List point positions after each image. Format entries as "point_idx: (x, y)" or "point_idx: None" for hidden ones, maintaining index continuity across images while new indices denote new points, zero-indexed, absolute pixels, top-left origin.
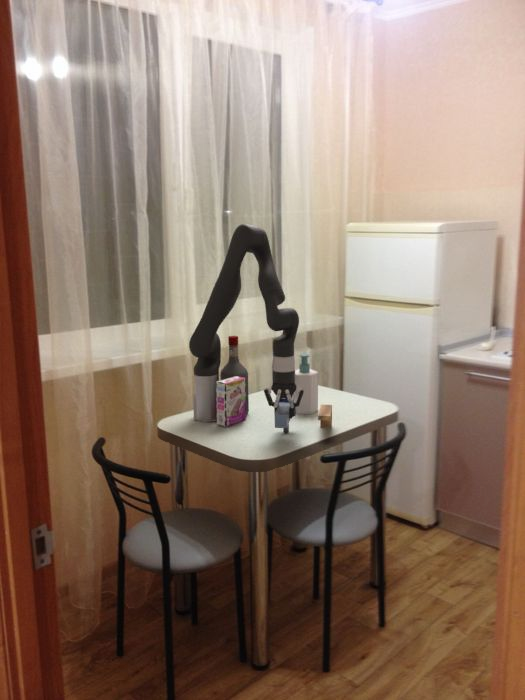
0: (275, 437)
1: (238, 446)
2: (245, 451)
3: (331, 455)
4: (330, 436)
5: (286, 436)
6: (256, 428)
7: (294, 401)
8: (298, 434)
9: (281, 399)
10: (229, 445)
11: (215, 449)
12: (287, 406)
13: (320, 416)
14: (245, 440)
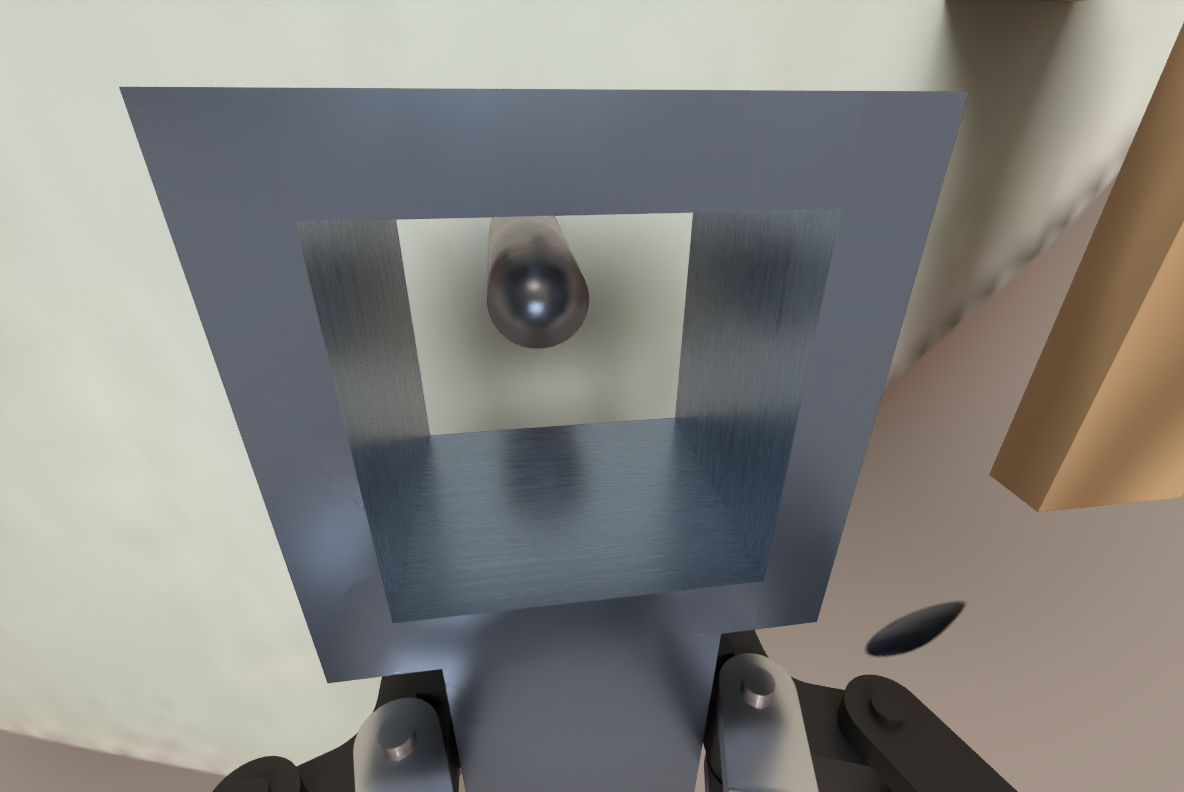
0: (444, 411)
1: (189, 652)
2: (299, 707)
3: (878, 632)
4: (973, 297)
5: (551, 366)
6: (61, 127)
7: (812, 479)
8: (670, 288)
9: (362, 212)
10: (94, 653)
11: (34, 732)
12: (652, 769)
13: (1058, 501)
14: (171, 534)
